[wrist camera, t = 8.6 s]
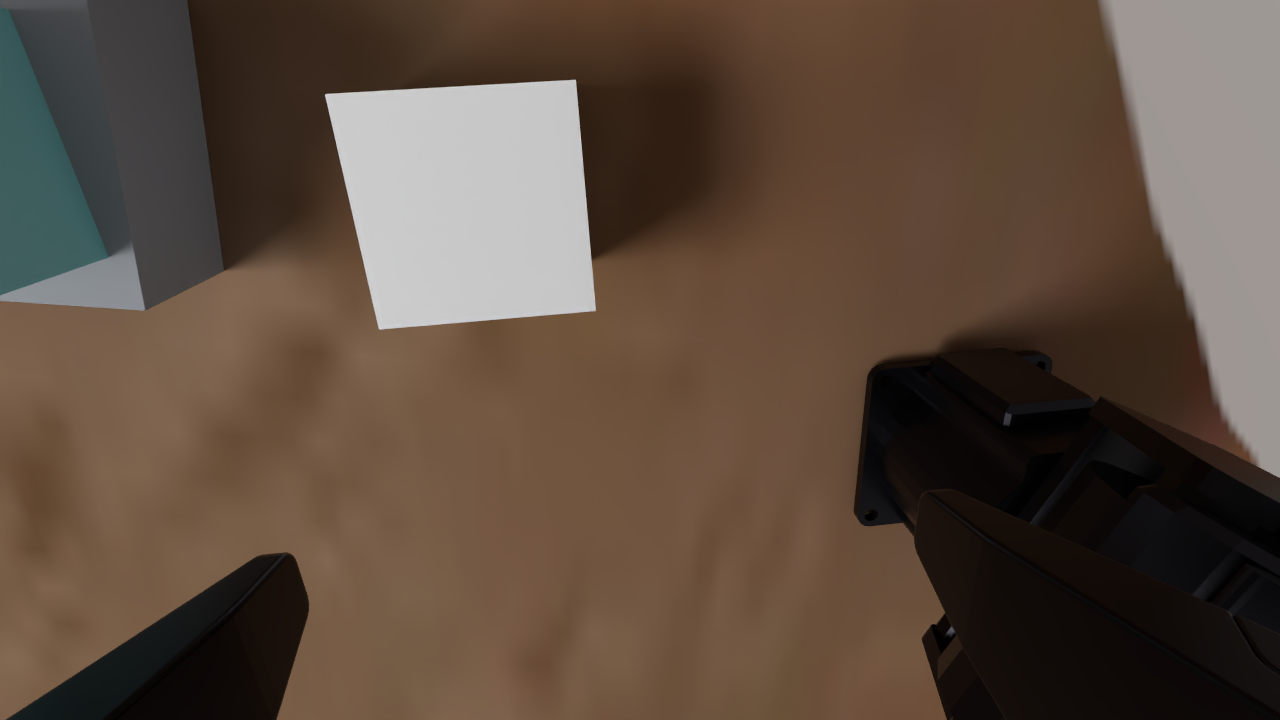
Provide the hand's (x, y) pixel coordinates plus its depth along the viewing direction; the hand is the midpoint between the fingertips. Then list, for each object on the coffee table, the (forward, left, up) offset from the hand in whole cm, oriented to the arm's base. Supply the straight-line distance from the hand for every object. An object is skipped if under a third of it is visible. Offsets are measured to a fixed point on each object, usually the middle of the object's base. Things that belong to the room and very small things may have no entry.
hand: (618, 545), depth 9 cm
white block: (+4, +2, -12) cm, 13 cm away
